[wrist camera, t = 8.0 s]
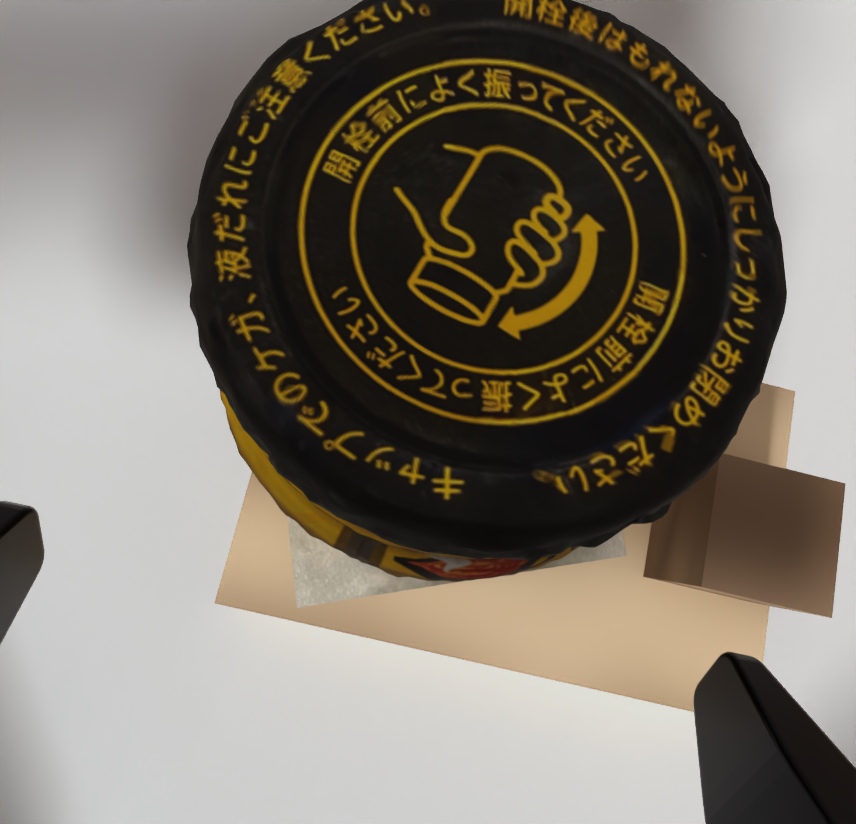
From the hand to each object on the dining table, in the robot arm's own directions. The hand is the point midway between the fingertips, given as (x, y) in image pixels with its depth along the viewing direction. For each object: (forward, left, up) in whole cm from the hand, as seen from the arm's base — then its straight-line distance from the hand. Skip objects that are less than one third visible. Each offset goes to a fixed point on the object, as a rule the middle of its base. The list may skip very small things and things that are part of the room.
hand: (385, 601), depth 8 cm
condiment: (+4, -1, -8) cm, 9 cm away
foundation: (+3, -3, -11) cm, 11 cm away
